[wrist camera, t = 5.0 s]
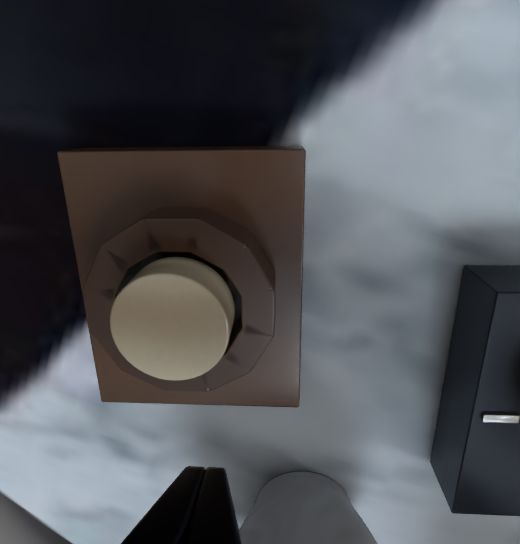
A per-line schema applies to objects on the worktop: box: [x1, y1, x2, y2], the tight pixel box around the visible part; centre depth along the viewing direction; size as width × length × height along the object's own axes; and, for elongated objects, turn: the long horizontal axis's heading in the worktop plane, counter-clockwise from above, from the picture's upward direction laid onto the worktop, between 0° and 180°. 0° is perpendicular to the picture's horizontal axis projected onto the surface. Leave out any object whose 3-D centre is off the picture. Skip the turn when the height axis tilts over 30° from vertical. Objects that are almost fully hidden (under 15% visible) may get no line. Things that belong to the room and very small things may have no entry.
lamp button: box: [110, 257, 235, 380], centre depth 14 cm, size 4×4×2 cm
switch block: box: [57, 146, 306, 407], centre depth 16 cm, size 11×9×4 cm
